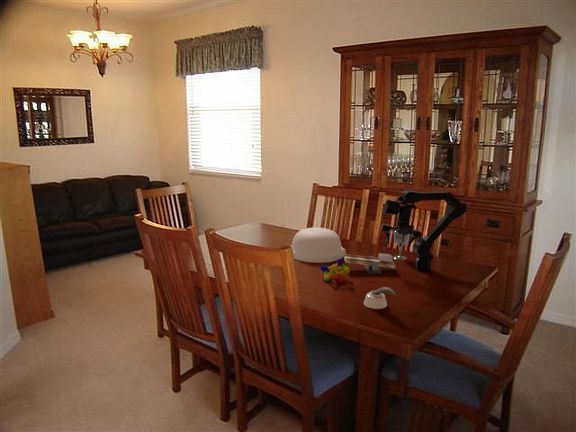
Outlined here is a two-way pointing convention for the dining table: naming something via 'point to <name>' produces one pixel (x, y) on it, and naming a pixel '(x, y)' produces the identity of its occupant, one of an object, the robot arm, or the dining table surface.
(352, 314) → the dining table surface
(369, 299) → the inkwell
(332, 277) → the decorative model
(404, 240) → the wine glass
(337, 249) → the dome cover
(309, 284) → the dining table surface
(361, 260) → the beam
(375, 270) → the pivot stand
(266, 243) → the dining table surface
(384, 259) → the steel block
